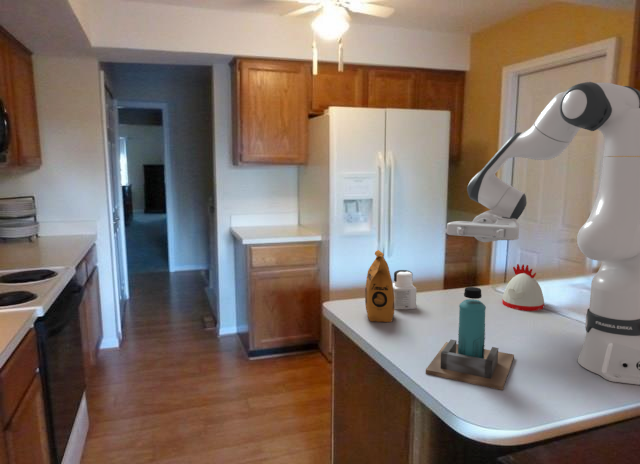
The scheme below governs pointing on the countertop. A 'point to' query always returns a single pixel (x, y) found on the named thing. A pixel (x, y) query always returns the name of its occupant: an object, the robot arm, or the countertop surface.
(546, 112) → the robot arm
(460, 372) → the bottle dock
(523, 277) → the kitchen timer
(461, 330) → the beverage bottle
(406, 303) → the container
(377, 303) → the coffee package
